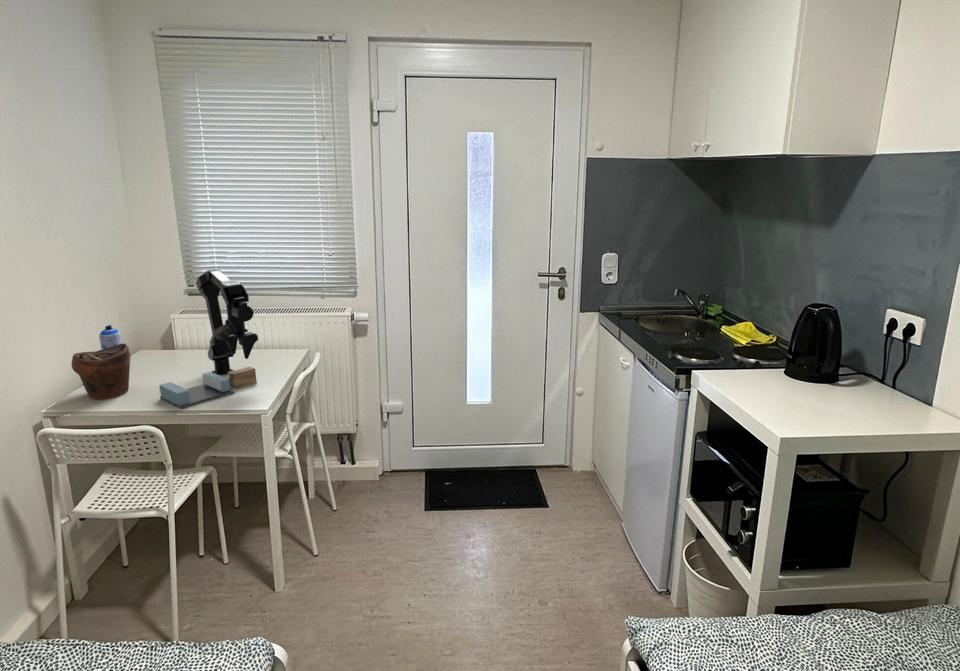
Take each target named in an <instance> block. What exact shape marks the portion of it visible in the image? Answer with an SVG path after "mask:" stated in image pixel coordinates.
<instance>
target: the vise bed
mask: <svg viewBox="0 0 960 671" xmlns="http://www.w3.org/2000/svg"><path fill="white" fill-rule="evenodd" d="M186 389H187V390H189V393H190V403H187V404H183V405H180V406H179V405H177V404H175V403H173V402H171V401H169V400H167V399H165V398H163V397H161V395H160V396H159V399H160V400H162V401H164V402H166V403H167V404H170V405H172V406H174V407H176V408H178V409H180V410H181V409H185V408H188V407H192V406H196V405H199V404H203V403H205V402H209V401H212V400H213V401H214V400H217V399H220V398H223V397H226V396H230V395H233V394H235V389H234V390H233V389H232V388H230V390H229V391H225V392H221V391H218V390H216V389H214V388H211V387H209V386H207V385H204V383H203V384H200V385H199V384H198V385H196V386H192V387H188V388H186Z"/></svg>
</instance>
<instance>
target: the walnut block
mask: <svg viewBox="0 0 960 671" xmlns="http://www.w3.org/2000/svg"><path fill="white" fill-rule="evenodd" d="M227 375H228V376H227V378H228V379H229V384H230V389H234V390H237V389H242V388H244V387H247V386H251V385H254V384H257V372H256V368H255V367H253V366H246V367H243V368H239V369H236V370H234V371H231V372H228V373H227Z"/></svg>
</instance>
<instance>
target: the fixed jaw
mask: <svg viewBox="0 0 960 671" xmlns="http://www.w3.org/2000/svg"><path fill="white" fill-rule="evenodd" d="M158 387H159V390H160V391H159V392H160V396H161V397H163V398H165V399H167V400H169V401H171V402H173V403H175V404H177V405H179V406H180V405H183V404H187V403H190V393H189V390H187V389H188V388H185V387H184V386H180V385H178V384H176V383H174V382H172V381H170V382H169V381H168V382H166V383H161V384H160V385H159V386H158Z"/></svg>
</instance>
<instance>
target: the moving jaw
mask: <svg viewBox="0 0 960 671" xmlns="http://www.w3.org/2000/svg"><path fill="white" fill-rule="evenodd" d="M202 381H203V384H204V385H207V386H209V387H211V388H214V389H216V390H218V391H221V392H225V391H229V390H230V389H231V387H230V384H229V378H228V377H227V378H226V377H223V376H222V375H217V374H215V373H212V371H207V372H205V373H202Z"/></svg>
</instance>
